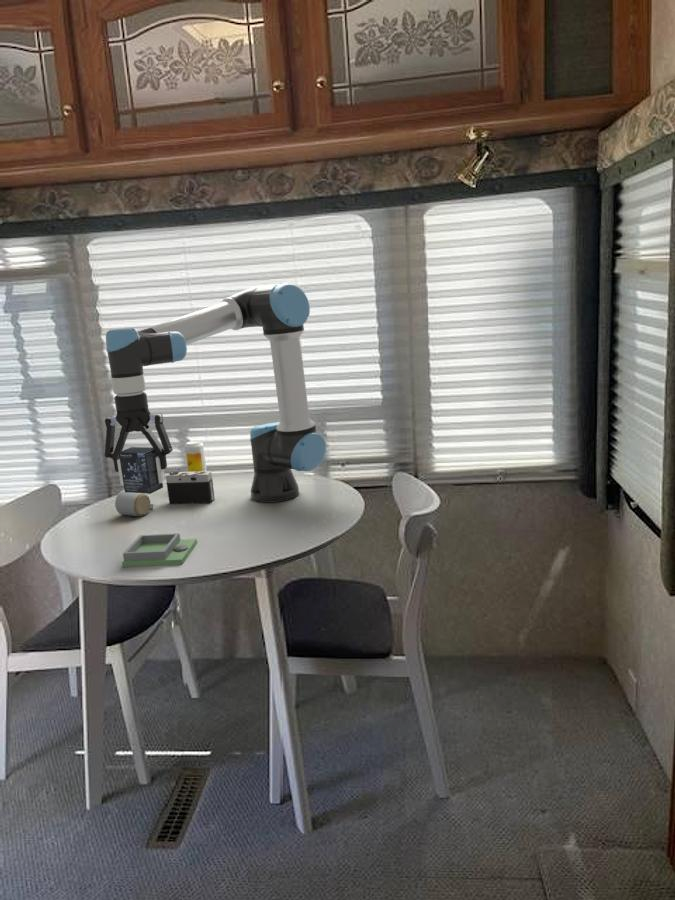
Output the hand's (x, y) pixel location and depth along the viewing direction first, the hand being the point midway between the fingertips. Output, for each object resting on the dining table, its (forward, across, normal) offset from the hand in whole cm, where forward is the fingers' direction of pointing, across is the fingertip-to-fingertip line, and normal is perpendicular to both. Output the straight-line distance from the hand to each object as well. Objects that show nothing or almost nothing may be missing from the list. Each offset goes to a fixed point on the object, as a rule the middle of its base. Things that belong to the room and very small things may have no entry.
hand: (143, 482), depth 172 cm
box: (+2, 0, 0) cm, 2 cm away
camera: (+20, +2, -46) cm, 50 cm away
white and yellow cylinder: (+19, +4, -63) cm, 66 cm away
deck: (+19, -2, 0) cm, 19 cm away
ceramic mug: (+20, +16, -35) cm, 43 cm away
